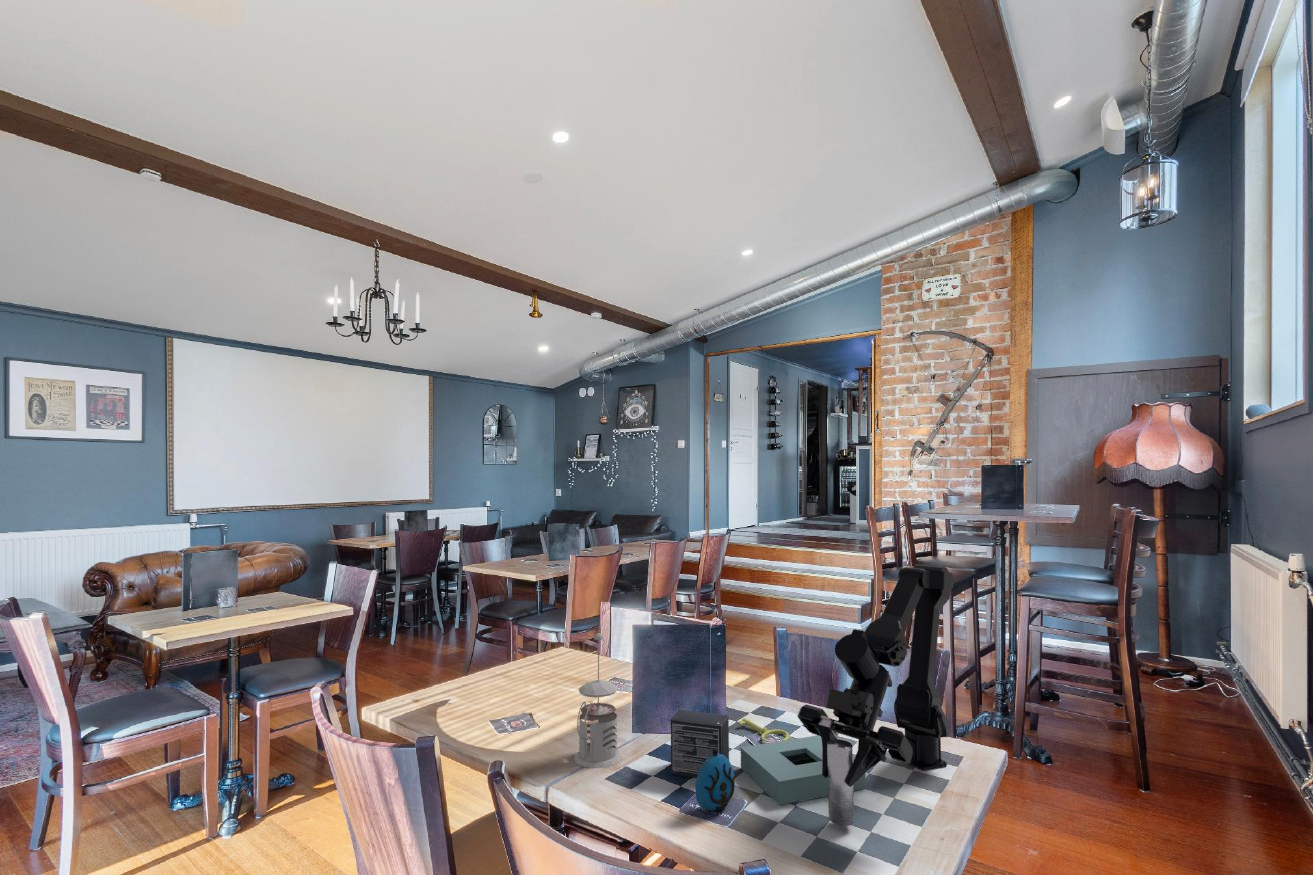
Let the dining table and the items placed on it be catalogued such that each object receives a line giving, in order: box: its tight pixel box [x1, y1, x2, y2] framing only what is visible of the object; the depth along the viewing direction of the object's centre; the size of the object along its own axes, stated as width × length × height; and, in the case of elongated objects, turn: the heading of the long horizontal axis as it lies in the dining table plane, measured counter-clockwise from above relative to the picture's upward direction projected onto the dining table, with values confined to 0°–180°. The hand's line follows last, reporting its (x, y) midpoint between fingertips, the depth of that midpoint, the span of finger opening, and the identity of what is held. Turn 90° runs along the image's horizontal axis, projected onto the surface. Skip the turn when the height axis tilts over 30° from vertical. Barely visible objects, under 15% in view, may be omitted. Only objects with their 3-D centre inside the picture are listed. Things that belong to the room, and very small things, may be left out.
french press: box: [573, 632, 623, 769], centre depth 131 cm, size 10×12×25 cm
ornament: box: [694, 749, 736, 811], centre depth 111 cm, size 8×5×10 cm, turn 126°
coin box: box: [740, 735, 867, 806], centre depth 122 cm, size 18×15×4 cm
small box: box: [669, 709, 730, 779], centre depth 125 cm, size 11×6×10 cm, turn 71°
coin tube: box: [827, 738, 855, 827], centre depth 106 cm, size 4×4×12 cm
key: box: [737, 717, 790, 742], centre depth 142 cm, size 7×12×2 cm, turn 56°
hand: (836, 780), depth 105 cm, fingers closed on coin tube, 4 cm apart
